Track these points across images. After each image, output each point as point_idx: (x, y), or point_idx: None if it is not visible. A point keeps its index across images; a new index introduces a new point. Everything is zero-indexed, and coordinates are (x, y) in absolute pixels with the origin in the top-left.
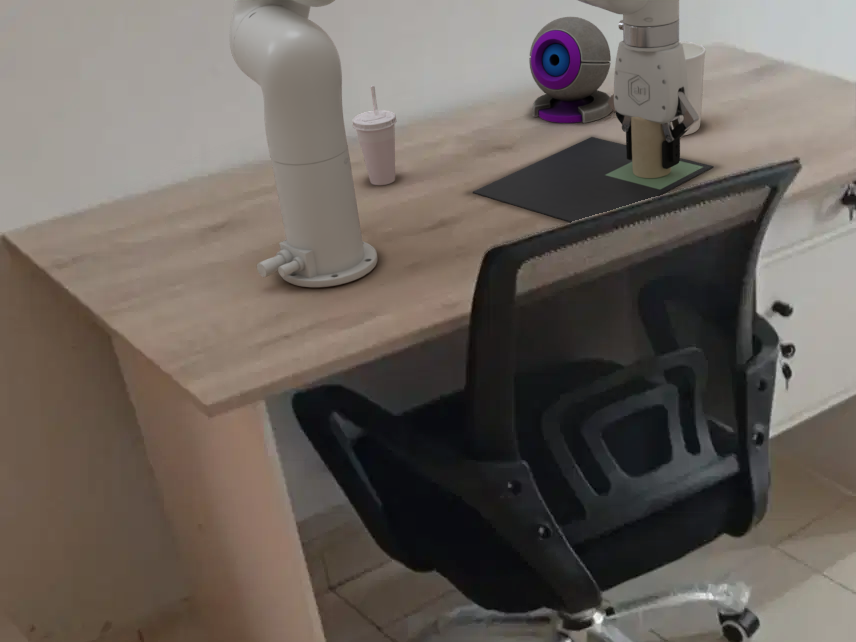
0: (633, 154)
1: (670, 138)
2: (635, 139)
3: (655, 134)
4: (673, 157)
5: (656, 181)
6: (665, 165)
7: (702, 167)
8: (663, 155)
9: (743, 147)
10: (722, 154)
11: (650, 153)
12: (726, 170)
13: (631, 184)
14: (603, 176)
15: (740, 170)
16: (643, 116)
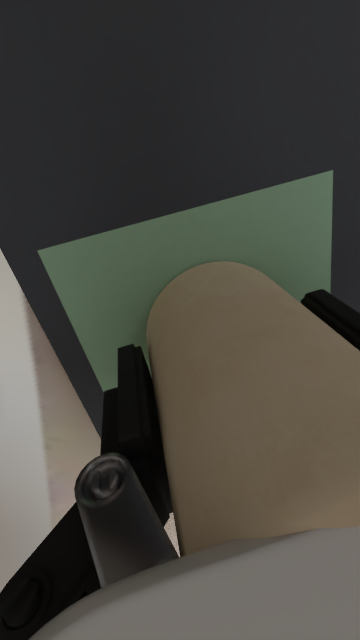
0: (276, 293)
1: (91, 483)
2: (299, 338)
3: (185, 448)
4: (104, 404)
5: (124, 288)
6: (118, 354)
7: None
8: (129, 379)
9: (177, 544)
10: None
11: (181, 342)
12: (75, 479)
13: (169, 190)
14: (328, 153)
15: (51, 501)
16: (342, 561)
